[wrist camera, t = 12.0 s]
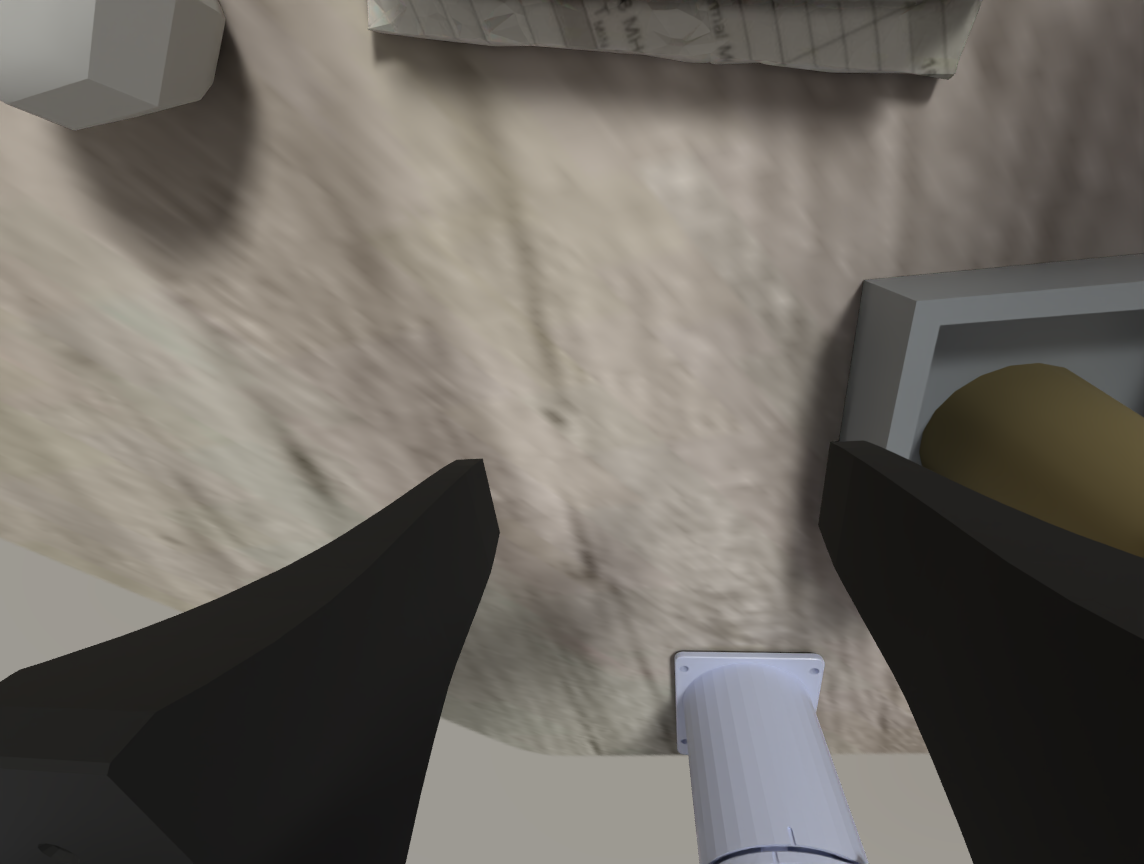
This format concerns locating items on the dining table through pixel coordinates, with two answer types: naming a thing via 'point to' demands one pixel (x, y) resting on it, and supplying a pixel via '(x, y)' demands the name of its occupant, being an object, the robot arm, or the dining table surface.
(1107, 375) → the tote
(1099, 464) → the cork
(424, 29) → the packaged product
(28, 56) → the apple
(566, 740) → the dining table surface
